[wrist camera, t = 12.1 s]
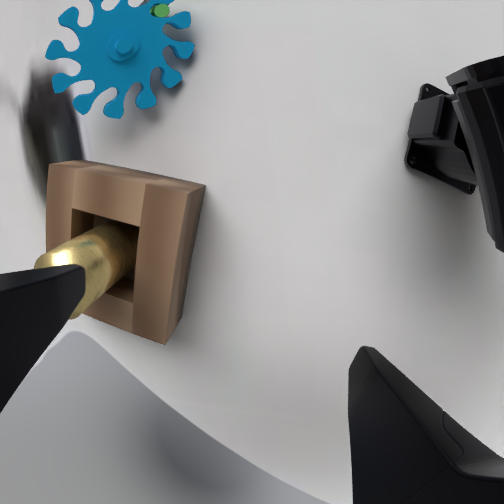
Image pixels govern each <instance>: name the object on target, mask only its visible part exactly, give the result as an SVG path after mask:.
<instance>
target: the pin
mask: <svg viewBox="0 0 504 504" xmlns="http://www.w3.org/2000/svg"><path fill="white" fill-rule="evenodd" d="M138 237H139V229H138V228H137V226H135V225H132V224H128V223H124V222H121V221H117V220H114V219H112V220H110V221H108V222H106V223H103V224H101V225H99V226H97V227H95V228H93V229H91V230H89V231H87V232H85V233H83V234H81V235H79V236H77V237H75V238H73V239H71V240H69V241H68V242H66V243H64V244H62V245H60V246H58V247H56V248H54V249H52V250H51V251H49V252H47V253H45V254H43V255H41V256H40V257H39V258H38V259H37V261H36V263H35V266H34V269H38V268H45V267H52V266H59V265H66V264H77V265H80V266H82V267H84V269H85V281H86V291H85V294H84V297H83V298H82V300H81V301H80V303H79V304H78V305H77V307H76V308H75V310H74V311H73V313H72V314H71V316H70V318H69V319H75V318H77V317H78V316H79V315H80V314H81V313H82V312H84V311H85V310H86V309H87V308H88V307H89V306H90V305H91V304H92V303H93V302H95V301H96V300H97V299H98V298H99V297H100V296H101V295H102V294H104V293H105V292H106V291H107V290H108V289H109V288H110V287H111V286H113V285H114V284H115V283H116V282H117V281H118V280H119V279H121V278H122V277H123V276H124V275H125V274H126V273H128V272H129V271H130V270H131V269H132V268H133V267H135V266H136V257H137V246H138Z"/></svg>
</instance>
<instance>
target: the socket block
mask: <svg viewBox="0 0 504 504" xmlns="http://www.w3.org/2000/svg"><path fill="white" fill-rule="evenodd" d="M205 186H206V185H203V184H198V183H194V182H190V181H185V180H181V179H176V178H172V177H167V176H163V175H158V174H153V173H149V172H144V171H139V170H134V169H129V168H124V167H119V166H114V165H108V164H103V163H97V162H92V161H86V160H74V161H67V162H60V163H54V164H49V171H48V183H47V200H46V253H47V252H49V251H51V250H52V249H54V248H56V247H58V246H60V245H62V244H64V243H66V242H68V241H69V240H71V239H73V238H75V237H77V236H79V235H81V234H83V233H85V232H87V231H89V230H91V229H93V228H95V227H97V226H99V225H101V224H103V223H106V222H108V221H110V220H112V219H114V220H117V221H121V222H124V223H128V224H132V225H135V226H137V228H138V229H139V237H138V246H137V257H136V266H135V267H133V268H132V269H131V270H130V271H129V272H128V273H126V274H125V275H124V276H123V277H122V278H121V279H119V280H118V281H117V282H116V283H115V284H114V285H113V286H111V287H110V288H109V289H108V290H107V291H106V292H105V293H104V294H102V295H101V296H100V297H99V298H98V299H97V300H96V301H95V302H93V303H92V304H91V305H90V306H89V307H88V308H87V309H86V310H85V311H84V312H82V313H83V314H85V315H88V316H90V317H93V318H95V319H97V320H100V321H102V322H105V323H107V324H109V325H112V326H115V327H117V328H120V329H122V330H125V331H127V332H130V333H133V334H135V335H138V336H141V337H144V338H146V339H149V340H152V341H155V342H158V343H161V344H164V345H166V343H167V341H168V339H169V338H170V336H171V334H172V333H173V331H174V329H175V328H176V326H177V324H178V322H179V321H180V319H181V317H182V311H183V305H184V298H185V292H186V286H187V280H188V274H189V268H190V262H191V257H192V251H193V246H194V240H195V235H196V230H197V225H198V219H199V214H200V209H201V205H202V200H203V195H204V190H205Z"/></svg>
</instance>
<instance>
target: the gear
mask: <svg viewBox="0 0 504 504" xmlns="http://www.w3.org/2000/svg"><path fill="white" fill-rule="evenodd" d="M89 1H90V2H91V3H92V5H93V10H94V14H93V20H92V23H91V24H90V25H89V26H87V27H80V26H79V25H78V23H77V20H78V15H79V11H78V9H77V8H76V7H71V8H69V9H67V10H66V11H65V12H64V13H63V14H62V15H61V16H60V17H59V18H58V20H59V24H60V25H61V26H64V27H68V28H70V29H71V30H73V31H74V32H75V33H76V35H77V37H78V39H79V42H80V45H79V48H78V49H77V50H75V51H73V52H69V51H67V50H66V49H65V47H64V45H63V43H62V42H61V41H59V40H53V41H52V42H51V43H50V45H49V46H48V49H47V52H46V55H45V57H46V58H47V59H49V60H55V59H58V58H70V59H73V60H75V61H77V62H78V63H80V65H81V70H80V72H79V74H77V75H76V76H69V75H67V74H65V73H58V74H56V75H54V76H53V78H52V85H53V89H54V92H55V93H61V92H63V91H64V90H65V89H66V88H67V87H69V86H70V85H71V84H73V83H75V82H78V81H82V80H93V81H94V82H95V89H94V90H93V91H92V92H91V93H89V94H82V95H78V96H77V97H76V98H75V99H74V100H73V102H72V103H73V106H74V108H75V109H76V110H77V111H78V112H79V113H81V114H82V115H84V114H86V113H88V111H89V110H90V109H91V106H92V104H93V102H94V100H95V99H96V97H97V96H98V95H99V94H100V93H102V92H103V91H105V90H107V89H108V88H110V87H115V88H116V89H117V96H116V98H115V99H113V100H112V101H110V102H108V103H107V104H106V105H105V107H104V109H103V113H104V114H105V115H106V116H107V117H110V118H116V119H120V118H121V117H122V115H123V113H124V108H123V101H124V97H125V95H126V93H127V91H128V89H129V88H130V87H131V85H132V84H133V83H135V82H139V83H140V84H141V87H142V88H141V91H140V93H139V94H138V96H137V97H136V100H135V103H136V106H137V107H138V108H140V109H146V108H150V107H152V106H155V105H156V97H155V95H154V94H153V93H152V91H151V88H150V75H151V71H152V70H153V69H154V68H155V67H159V68H160V69H161V83H162V85H163V86H164V87H167V88H171V87H173V86H175V85H176V84H177V83H179V82H180V81H181V80H182V75H181V74H180V73H179V72H178V71H175V70H173V69H172V68H170V67H169V66H168V64H167V63H166V61H165V59H164V57H163V54H162V52H163V49H164V48H165V47H166V46H170V47H171V48H172V49H173V52H174V54H175V56H176V57H177V58H180V59H188V58H189V57H190V55H191V54H192V51H193V49H194V46H195V45H194V44H193V43H192V42H188V41H186V42H179V41H175V40H172V39H171V38H169V37H168V36H166V35H165V34H164V33H163V31H162V29H163V26H164V25H165V24H166V23H168V24H170V25H172V26H173V27H174V28H176V29H184V28H188V27H190V24H191V17H190V12H187V11H183V12H180V13H177V14H175V15H174V16H172V17H166V18H165V16H167V15H168V13H169V7H168V5H169V4H170V3H171V2H173V1H174V0H144V1H143V2H142V3H141V4H140V5H139V6H138V7H131V6H129V5H128V0H120V1H119V3H118V4H117V6H116V7H115V8H114V9H112V10H110V11H105V10H103V9H102V8H101V3H102V1H103V0H89Z"/></svg>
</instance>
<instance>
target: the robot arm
mask: <svg viewBox="0 0 504 504" xmlns="http://www.w3.org/2000/svg"><path fill="white" fill-rule="evenodd" d="M446 79H447V82H448V84H449V86H451V87H452V89H453V92H454V94H450V95H449V94H448V93H446V92H444V91H442V90H440V89H438V88H436V87H435V86H433V85H431V84H428V83H427V84H423V85H422V86H421V88H420V94H419V99H418V102H416V103H415V104H414V108H413V113H412V117H411V122H410V126H409V130H408V136H409V138H410V139H409V143H408V147H407V151H406V155H405V160H404V161H405V164H406V165H407V166H408V167H410V168H412V169H415V170H417V171H419V172H422V173H424V174H426V175H429V176H431V177H433V178H435V179H437V180H440V181H442V182H444V183H446V184H448V185H450V186H452V187H454V188H456V189H458V190H460V191H462V192H464V193H467V194H473V193H474V191H475V187H476V185H478V186H479V191H480V195H481V200H482V204H483V210H484V215H485V221H486V227H487V232H488V233H489V235H490V236H491V238H492V239H493V240H494V241H495V247H496V248H497V249H498V250H500V251H502V252H503V253H504V56H501V57H496V58H493V59H489V60H485V61H482V62H479V63H475V64H472V65H470V66H467V67H465V68H462V69H460V70H459V71H457V72H455V73H453V74H451V75H449V76H447V77H446ZM426 88H428V89H429V93H427V91H426ZM411 157H412V158H413V159H414V162H413V163H412V164H411V163H410V158H411ZM469 185H470V189H469V190H468V186H469ZM85 291H86V281H85V269H84V267H82V266H80V265H77V264H66V265H59V266H52V267H45V268H38V269H31V270H25V271H18V272H11V273H4V274H0V413H1V411H2V410H3V408H4V407H5V405H6V404H7V402H8V401H9V399H10V398H11V396H12V395H13V393H14V392H15V391H16V389H17V388H18V386H19V385H20V383H21V382H22V381H23V379H24V378H25V376H26V375H27V374H28V372H29V371H30V370H31V368H32V367H33V366H34V364H35V363H36V362H37V360H38V359H39V358H40V356H41V355H42V354H43V352H44V351H45V350H46V348H47V347H48V346H49V345H50V343H51V342H52V341H53V339H54V338H55V337H56V336H57V334H58V333H59V332H60V331H61V329H62V328H63V327H64V325H65V324H66V322H67V321H68V319H69V318H70V316H71V314H72V313H73V311H74V310H75V308H76V307H77V305H78V304H79V303H80V301H81V300H82V298H83V297H84V294H85ZM348 420H349V432H350V446H351V463H352V486H353V504H504V458H502V457H500V456H499V455H497V454H496V453H495V452H493V451H492V450H491V449H490V448H488V447H487V446H486V445H484V444H483V443H482V442H481V441H479V440H478V439H477V438H475V437H474V436H473V435H472V434H470V433H469V432H468V431H467V430H466V429H464V428H463V427H462V426H461V425H460V424H458V423H457V422H456V421H455V420H454V419H453V418H452V417H450V416H449V415H448V414H447V413H446V412H445V411H443V409H442V408H441V407H439V406H438V405H437V404H436V403H435V402H434V401H433V400H432V399H431V398H429V397H428V396H427V395H426V394H425V393H424V392H423V391H422V390H421V389H420V388H418V387H417V386H416V385H415V384H414V383H413V382H412V381H411V380H410V379H408V378H407V377H406V376H405V375H404V374H403V373H402V372H401V371H400V370H398V369H397V368H396V367H395V366H394V365H393V364H392V363H391V362H389V361H388V360H387V359H386V358H385V357H384V356H383V355H382V354H381V353H379V352H378V351H377V350H376V349H375V348H373V347H368V346H362V347H360V349H359V350H358V352H357V354H356V356H355V358H354V360H353V361H352V363H351V365H350V368H349V382H348Z"/></svg>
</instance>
